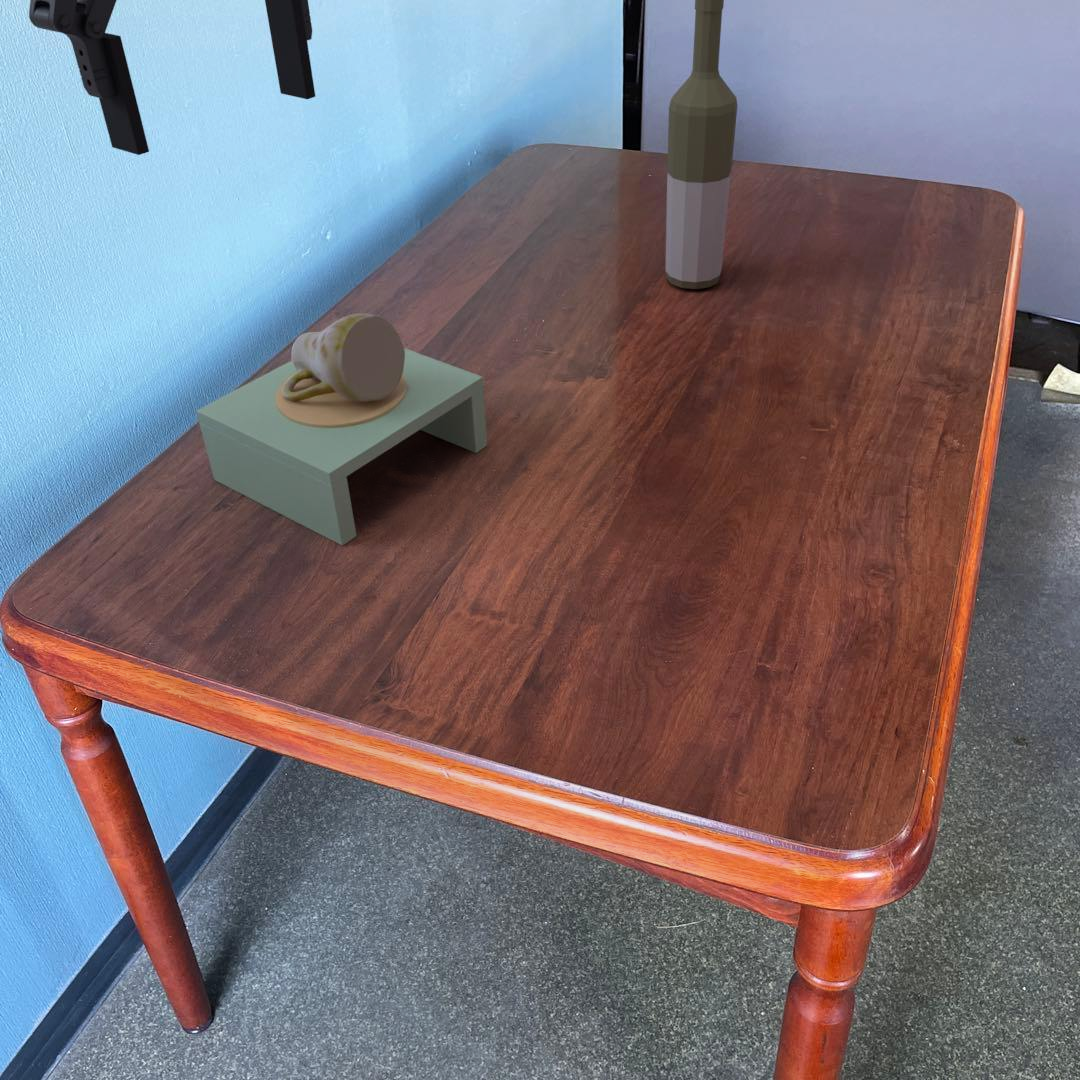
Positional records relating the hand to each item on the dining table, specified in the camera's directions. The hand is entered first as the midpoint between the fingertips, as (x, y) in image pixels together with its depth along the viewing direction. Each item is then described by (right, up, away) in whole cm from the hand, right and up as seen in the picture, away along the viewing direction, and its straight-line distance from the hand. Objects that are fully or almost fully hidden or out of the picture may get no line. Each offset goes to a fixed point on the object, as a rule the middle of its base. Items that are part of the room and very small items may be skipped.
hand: (219, 121), depth 70 cm
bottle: (+38, +2, +53) cm, 65 cm away
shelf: (+4, -20, +25) cm, 33 cm away
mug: (+4, -15, +21) cm, 26 cm away
